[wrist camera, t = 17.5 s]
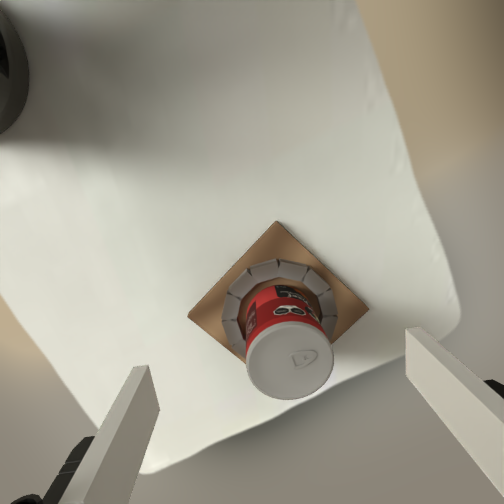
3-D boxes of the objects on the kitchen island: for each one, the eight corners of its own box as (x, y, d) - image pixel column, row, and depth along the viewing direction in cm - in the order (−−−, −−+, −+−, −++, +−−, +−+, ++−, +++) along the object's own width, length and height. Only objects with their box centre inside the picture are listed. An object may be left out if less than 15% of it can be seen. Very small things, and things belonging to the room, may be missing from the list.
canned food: (322, 316, 38) (351, 369, 28) (270, 351, 39) (279, 416, 29) (286, 269, 37) (302, 306, 26) (233, 307, 38) (228, 358, 27)
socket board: (188, 312, 39) (184, 322, 37) (275, 220, 37) (278, 223, 34) (279, 385, 42) (281, 399, 39) (366, 305, 39) (374, 314, 37)
